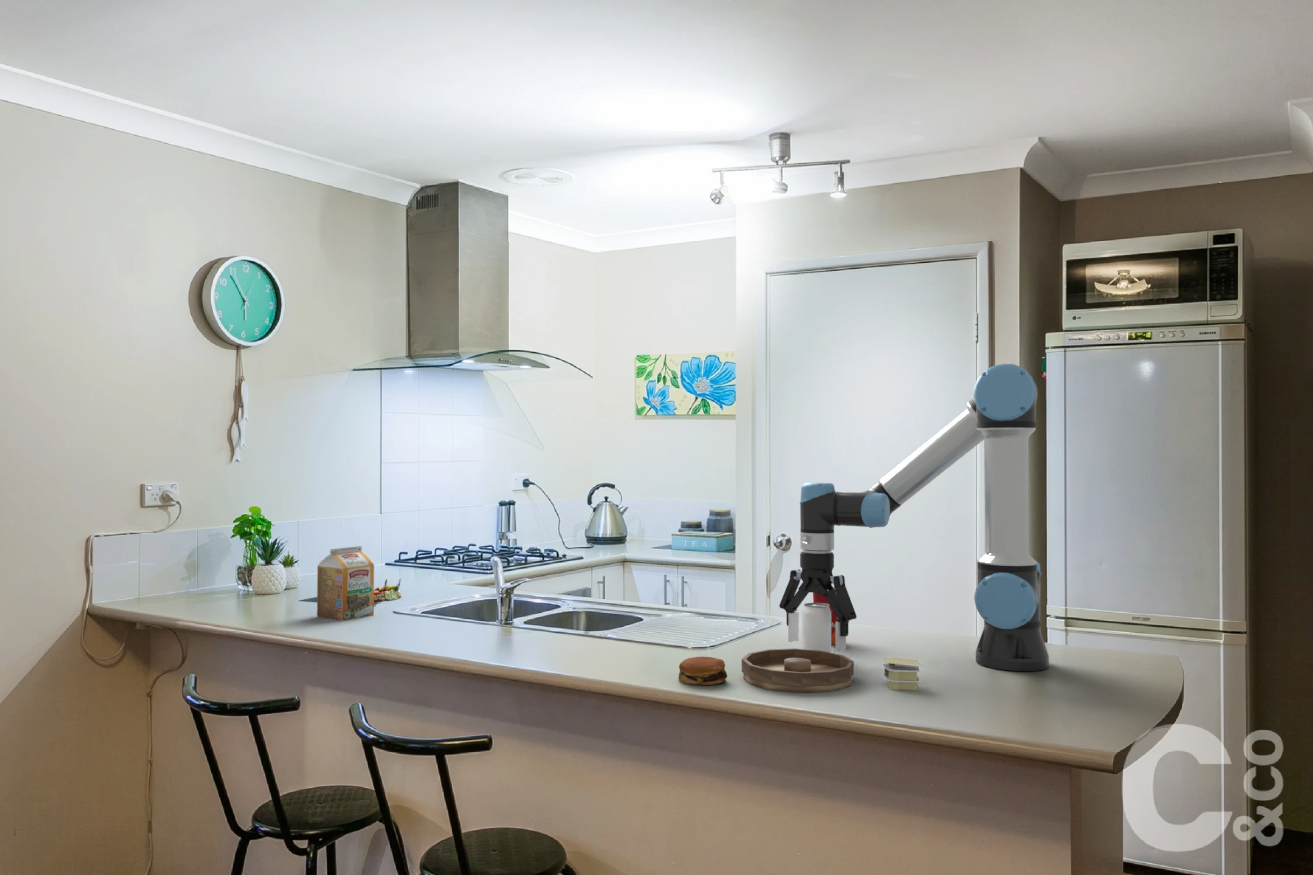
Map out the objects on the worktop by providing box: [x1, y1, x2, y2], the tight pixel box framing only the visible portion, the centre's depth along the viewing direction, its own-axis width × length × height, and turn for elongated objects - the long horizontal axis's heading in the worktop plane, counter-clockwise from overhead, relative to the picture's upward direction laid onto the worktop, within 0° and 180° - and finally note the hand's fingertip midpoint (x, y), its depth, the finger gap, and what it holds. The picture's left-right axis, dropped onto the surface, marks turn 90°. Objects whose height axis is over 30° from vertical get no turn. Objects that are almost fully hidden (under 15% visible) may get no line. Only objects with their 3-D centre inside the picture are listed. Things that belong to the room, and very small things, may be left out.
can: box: [801, 602, 832, 653], centre depth 216 cm, size 6×6×12 cm
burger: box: [678, 656, 728, 686], centre depth 195 cm, size 10×10×5 cm
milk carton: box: [316, 545, 375, 622], centre depth 266 cm, size 11×11×19 cm
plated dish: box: [298, 578, 402, 607], centre depth 297 cm, size 35×28×7 cm
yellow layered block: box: [882, 656, 920, 691], centre depth 191 cm, size 10×9×6 cm
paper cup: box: [812, 584, 838, 645], centre depth 234 cm, size 8×8×14 cm
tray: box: [741, 648, 855, 693], centre depth 197 cm, size 22×22×4 cm
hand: (816, 645), depth 216 cm, fingers open, 13 cm apart
